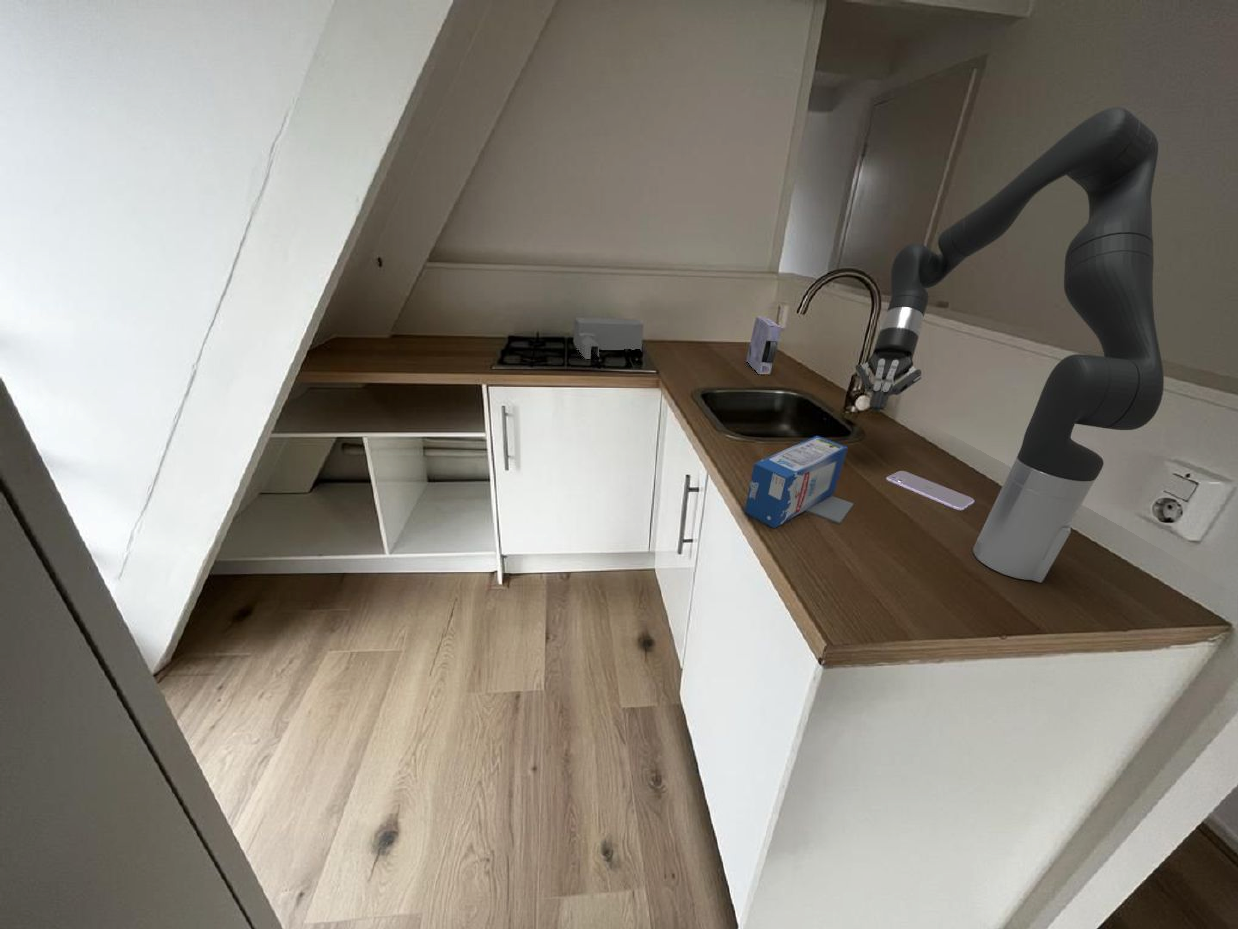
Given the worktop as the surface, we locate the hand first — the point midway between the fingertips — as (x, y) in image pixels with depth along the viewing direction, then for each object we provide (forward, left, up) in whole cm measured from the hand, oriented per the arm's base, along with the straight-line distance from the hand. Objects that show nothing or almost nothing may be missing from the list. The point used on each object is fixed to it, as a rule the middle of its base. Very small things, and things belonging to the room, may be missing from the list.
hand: (875, 410), depth 101 cm
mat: (+2, +22, -14) cm, 26 cm away
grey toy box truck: (+101, -39, -14) cm, 109 cm away
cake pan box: (+51, -65, -14) cm, 84 cm away
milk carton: (+3, +16, -8) cm, 18 cm away
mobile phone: (-14, -1, -14) cm, 20 cm away
